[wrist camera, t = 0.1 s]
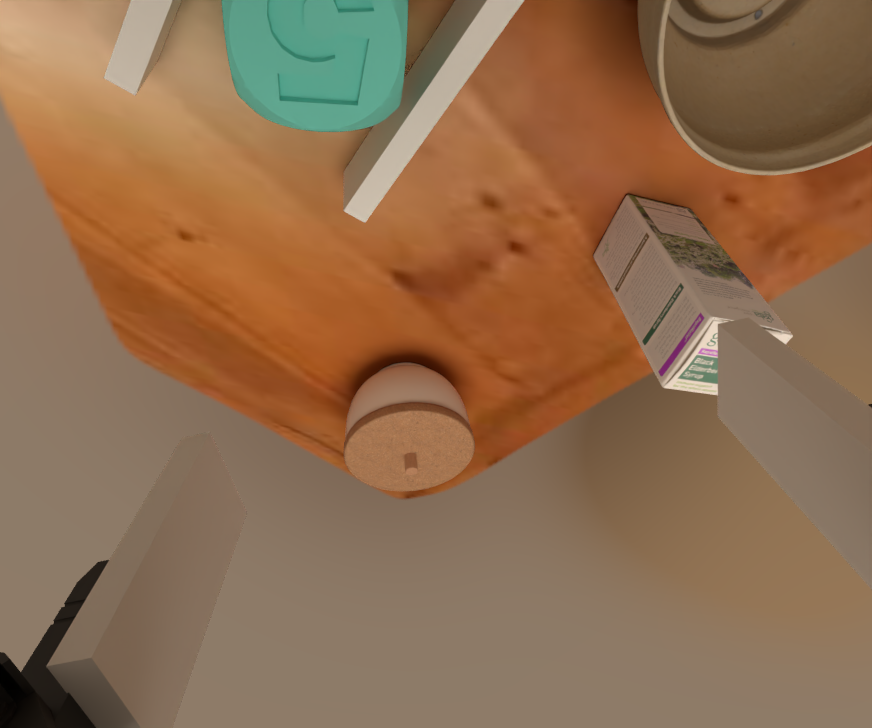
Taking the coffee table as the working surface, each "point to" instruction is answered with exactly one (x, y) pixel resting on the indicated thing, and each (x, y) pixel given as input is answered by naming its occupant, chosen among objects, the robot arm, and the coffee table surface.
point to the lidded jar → (407, 430)
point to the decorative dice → (318, 60)
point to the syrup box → (677, 290)
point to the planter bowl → (763, 78)
